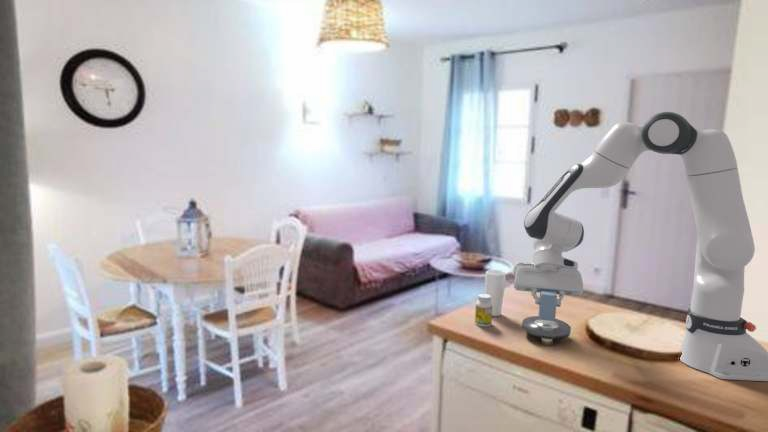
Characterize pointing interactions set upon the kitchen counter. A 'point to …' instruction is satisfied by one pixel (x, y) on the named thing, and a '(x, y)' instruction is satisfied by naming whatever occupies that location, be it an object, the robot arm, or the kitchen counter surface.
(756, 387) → the kitchen counter surface
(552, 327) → the stand
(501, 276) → the drinking glass
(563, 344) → the kitchen counter surface
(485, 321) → the supplement bottle
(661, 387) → the kitchen counter surface
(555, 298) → the block
